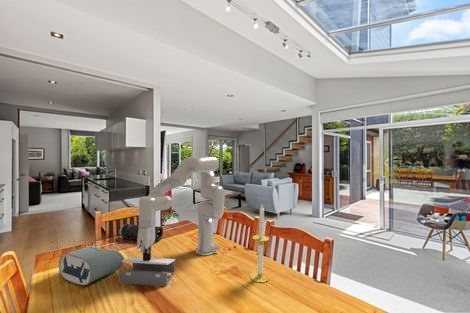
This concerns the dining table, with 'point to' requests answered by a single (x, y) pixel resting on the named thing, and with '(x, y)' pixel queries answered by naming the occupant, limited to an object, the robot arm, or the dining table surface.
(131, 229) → the muzzle brake
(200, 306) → the dining table surface
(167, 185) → the robot arm
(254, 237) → the candle
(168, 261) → the plate
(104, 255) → the pencil case
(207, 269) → the dining table surface
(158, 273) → the cable duct
